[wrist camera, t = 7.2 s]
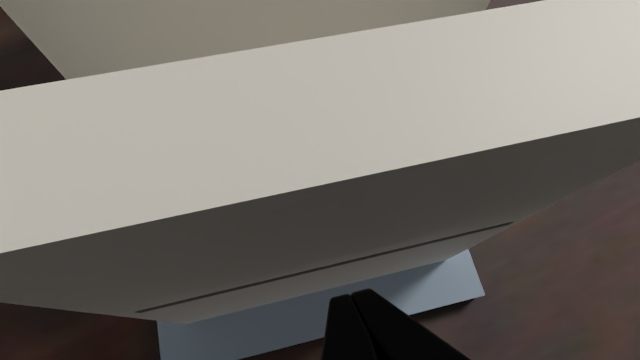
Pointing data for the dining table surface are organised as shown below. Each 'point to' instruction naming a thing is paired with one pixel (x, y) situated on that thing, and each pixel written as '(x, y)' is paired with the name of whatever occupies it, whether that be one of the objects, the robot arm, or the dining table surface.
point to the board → (314, 313)
